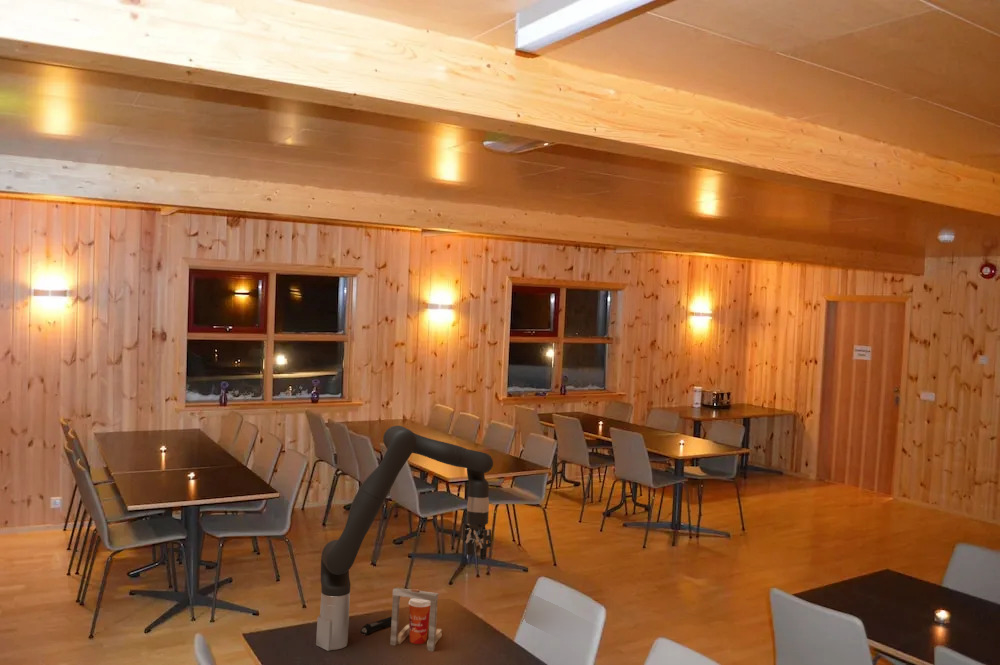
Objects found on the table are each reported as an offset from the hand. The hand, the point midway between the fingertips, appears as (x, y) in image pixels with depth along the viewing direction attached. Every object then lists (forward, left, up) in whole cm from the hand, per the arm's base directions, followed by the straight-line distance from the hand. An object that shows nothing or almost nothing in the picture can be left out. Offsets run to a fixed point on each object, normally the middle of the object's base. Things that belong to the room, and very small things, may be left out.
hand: (476, 557), depth 275 cm
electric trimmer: (-22, +23, -26) cm, 41 cm away
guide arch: (-20, +6, -26) cm, 33 cm away
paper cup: (-20, +6, -26) cm, 33 cm away
